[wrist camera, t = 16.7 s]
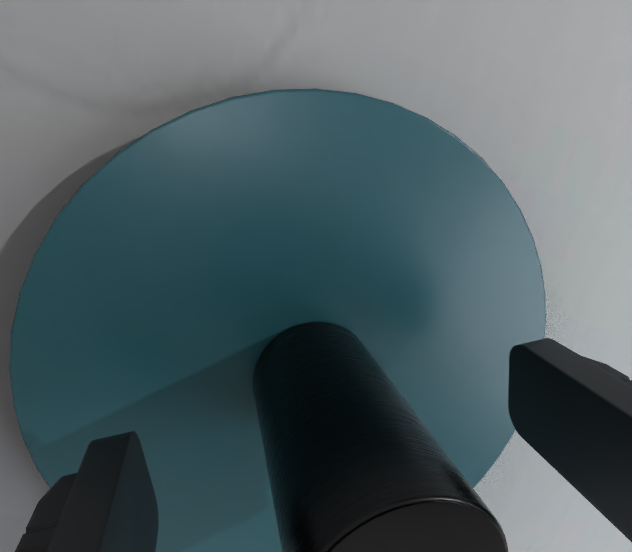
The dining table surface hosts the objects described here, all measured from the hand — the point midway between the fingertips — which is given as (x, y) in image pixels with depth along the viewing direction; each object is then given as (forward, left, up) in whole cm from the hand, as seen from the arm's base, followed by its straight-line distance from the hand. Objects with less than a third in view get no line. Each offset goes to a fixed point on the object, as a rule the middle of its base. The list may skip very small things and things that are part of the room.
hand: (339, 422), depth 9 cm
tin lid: (0, 0, -3) cm, 3 cm away
